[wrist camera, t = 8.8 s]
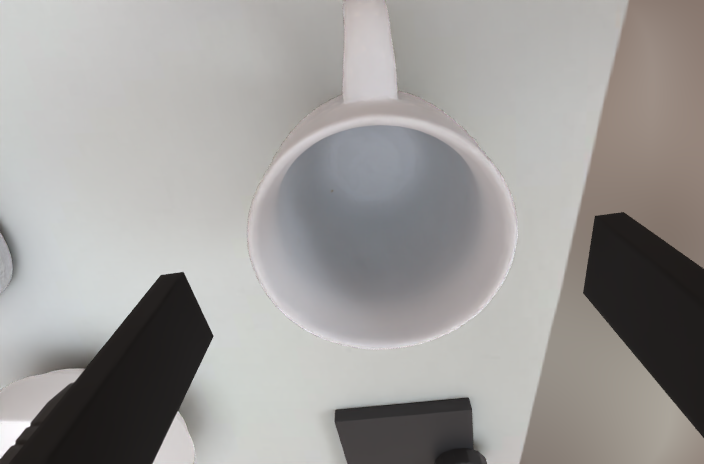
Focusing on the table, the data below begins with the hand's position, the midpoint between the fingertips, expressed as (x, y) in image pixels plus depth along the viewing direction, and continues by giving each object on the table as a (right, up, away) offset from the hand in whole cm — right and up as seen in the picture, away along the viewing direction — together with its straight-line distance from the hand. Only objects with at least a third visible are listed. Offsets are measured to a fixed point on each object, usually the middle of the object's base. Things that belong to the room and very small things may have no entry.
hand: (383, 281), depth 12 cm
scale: (+5, -21, +30) cm, 37 cm away
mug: (0, +8, +15) cm, 17 cm away
